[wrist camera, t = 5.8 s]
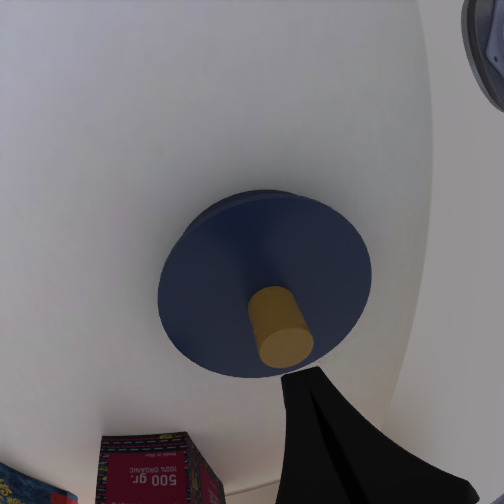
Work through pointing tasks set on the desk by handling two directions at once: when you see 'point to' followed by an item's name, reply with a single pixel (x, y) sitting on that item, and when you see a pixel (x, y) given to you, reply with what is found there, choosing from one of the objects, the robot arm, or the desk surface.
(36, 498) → the book
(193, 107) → the desk surface
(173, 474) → the box
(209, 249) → the tin lid
